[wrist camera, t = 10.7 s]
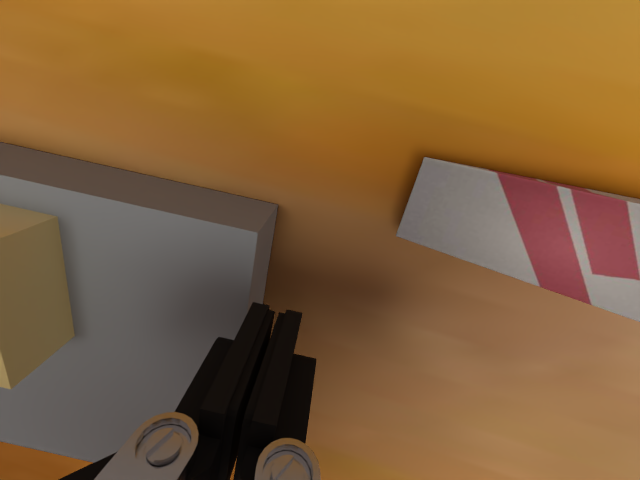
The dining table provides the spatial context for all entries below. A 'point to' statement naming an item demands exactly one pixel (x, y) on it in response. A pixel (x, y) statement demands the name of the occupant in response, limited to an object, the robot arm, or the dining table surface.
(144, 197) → the slate board
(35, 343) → the tile mustard
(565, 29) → the dining table surface
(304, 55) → the dining table surface
